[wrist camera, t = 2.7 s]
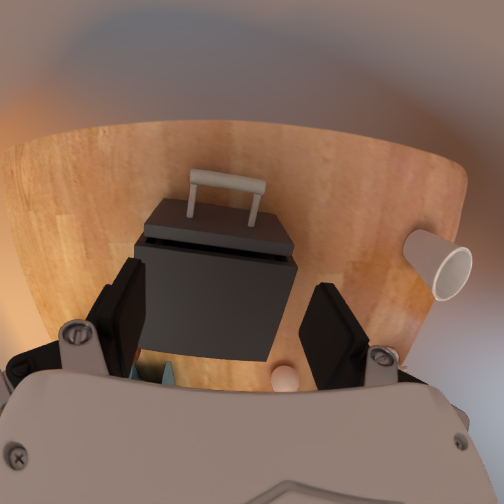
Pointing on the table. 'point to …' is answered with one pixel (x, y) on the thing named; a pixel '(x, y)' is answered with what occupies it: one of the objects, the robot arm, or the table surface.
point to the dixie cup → (438, 263)
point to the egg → (284, 379)
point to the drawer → (219, 221)
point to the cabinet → (212, 301)
